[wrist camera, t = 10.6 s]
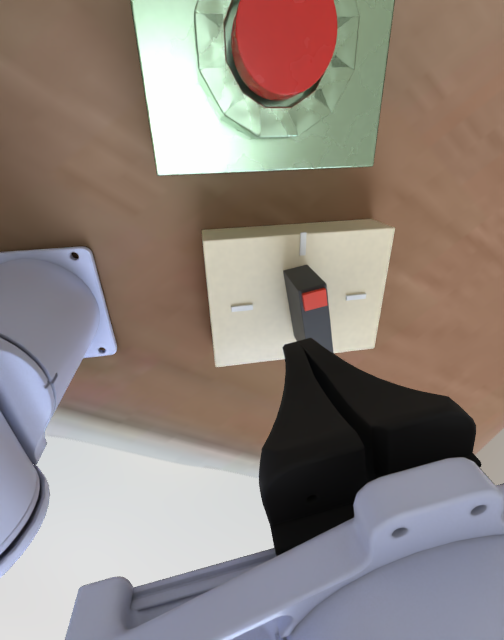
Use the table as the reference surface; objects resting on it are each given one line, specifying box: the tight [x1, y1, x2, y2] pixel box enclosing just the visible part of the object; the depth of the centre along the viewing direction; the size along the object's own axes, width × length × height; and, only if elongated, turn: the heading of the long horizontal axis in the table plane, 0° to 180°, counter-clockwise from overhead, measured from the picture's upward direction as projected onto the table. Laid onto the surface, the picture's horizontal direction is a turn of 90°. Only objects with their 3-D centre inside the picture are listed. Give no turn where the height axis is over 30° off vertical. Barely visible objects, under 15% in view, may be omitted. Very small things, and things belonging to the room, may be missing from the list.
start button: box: [231, 0, 337, 101], centre depth 13 cm, size 4×4×2 cm
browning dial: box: [283, 265, 334, 354], centre depth 20 cm, size 5×2×4 cm, turn 12°
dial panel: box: [201, 219, 395, 367], centre depth 23 cm, size 12×9×3 cm
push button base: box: [130, 0, 395, 176], centre depth 16 cm, size 12×10×5 cm
